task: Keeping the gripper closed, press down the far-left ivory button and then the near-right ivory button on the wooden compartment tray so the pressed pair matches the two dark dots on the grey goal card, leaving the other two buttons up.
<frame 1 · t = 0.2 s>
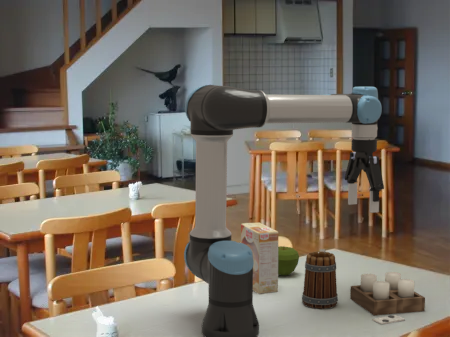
hand: (363, 208, 224), 27 cm above the table, fingers open, 13 cm apart
button far right: (406, 289, 215), point 5 cm above the table, slide at 0.0 cm
button far left: (392, 282, 223), point 5 cm above the table, slide at 0.0 cm
apple: (283, 275, 250), on the table
goal card: (388, 320, 205), on the table
button near right: (381, 291, 213), point 5 cm above the table, slide at 0.0 cm
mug: (320, 301, 222), on the table
wooden compartment tray: (386, 304, 218), on the table
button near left: (368, 283, 220), point 5 cm above the table, slide at 0.0 cm
coffeecake box: (258, 287, 236), on the table
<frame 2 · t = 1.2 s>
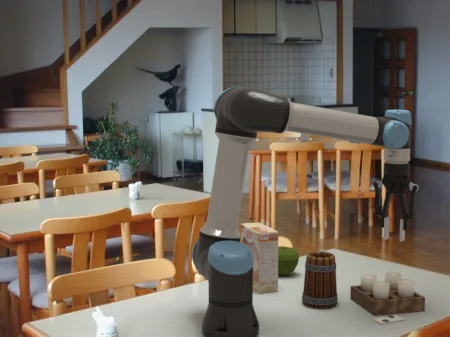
hand: (394, 239, 221), 19 cm above the table, fingers open, 4 cm apart
nothing on the table moved.
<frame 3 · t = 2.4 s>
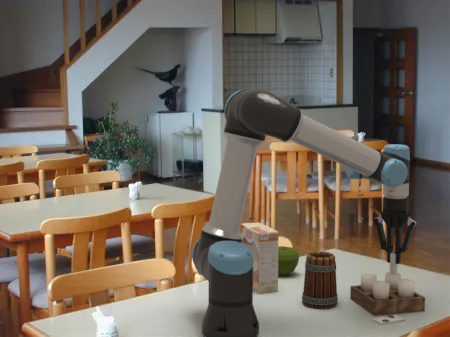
hand: (393, 273, 222), 8 cm above the table, fingers closed
button far left: (392, 282, 223), point 5 cm above the table, slide at 0.2 cm, touching gripper
everything else where it was.
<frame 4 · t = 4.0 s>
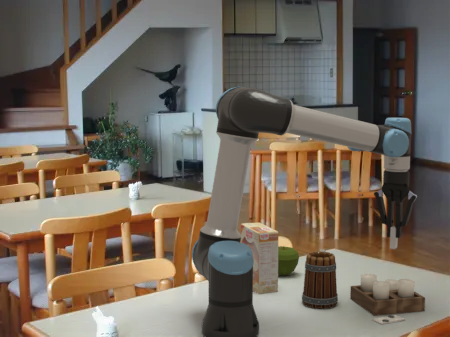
hand: (393, 247, 221), 16 cm above the table, fingers closed
button far left: (392, 289, 223), point 3 cm above the table, slide at 2.3 cm
everything else where it was.
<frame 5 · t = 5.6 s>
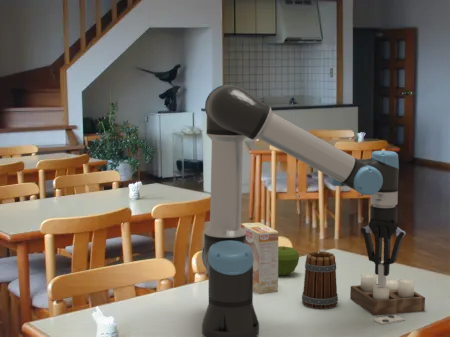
hand: (381, 285, 213), 7 cm above the table, fingers closed
button near right: (380, 295, 213), point 4 cm above the table, slide at 1.1 cm, touching gripper
everything else where it was.
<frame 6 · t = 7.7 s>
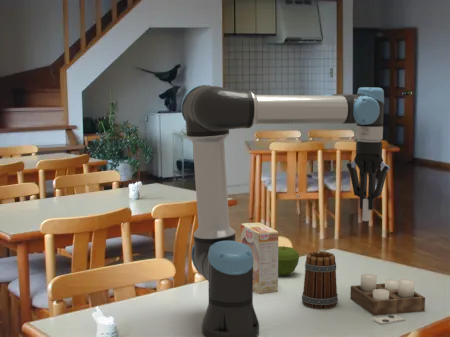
hand: (366, 220, 218), 25 cm above the table, fingers closed
button near right: (380, 299, 213), point 3 cm above the table, slide at 2.4 cm
everything else where it was.
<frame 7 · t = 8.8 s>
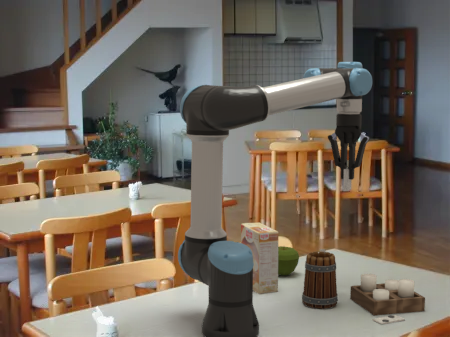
hand: (347, 189, 227), 32 cm above the table, fingers closed
nothing on the table moved.
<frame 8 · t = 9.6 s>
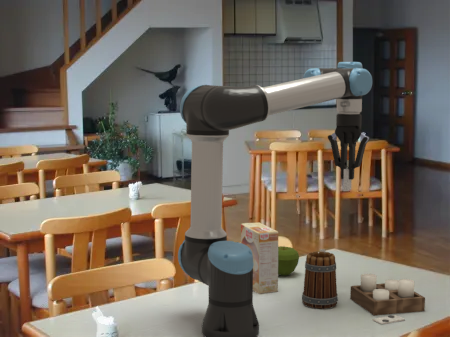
hand: (347, 189, 227), 32 cm above the table, fingers closed
nothing on the table moved.
at the end: button far left slide at 2.3 cm; button near right slide at 2.4 cm; button far right slide at 0.0 cm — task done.
